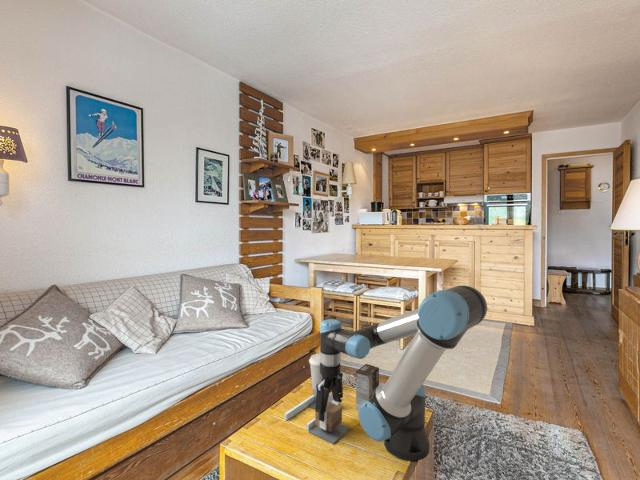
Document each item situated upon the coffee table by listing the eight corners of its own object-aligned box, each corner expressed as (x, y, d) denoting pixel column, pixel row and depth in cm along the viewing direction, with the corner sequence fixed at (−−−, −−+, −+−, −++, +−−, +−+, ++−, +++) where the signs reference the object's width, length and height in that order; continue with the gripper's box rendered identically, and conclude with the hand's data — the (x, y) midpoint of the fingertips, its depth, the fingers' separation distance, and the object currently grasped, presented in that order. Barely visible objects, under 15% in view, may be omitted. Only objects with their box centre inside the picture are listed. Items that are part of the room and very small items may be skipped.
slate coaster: (350, 429, 128) (350, 427, 127) (333, 444, 119) (333, 442, 119) (326, 418, 134) (326, 417, 134) (308, 432, 125) (308, 431, 125)
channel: (337, 408, 141) (337, 397, 141) (308, 431, 126) (308, 418, 126) (314, 399, 148) (314, 388, 148) (284, 420, 133) (284, 407, 133)
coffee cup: (329, 394, 153) (330, 361, 152) (308, 393, 153) (308, 361, 152) (329, 384, 163) (329, 353, 162) (309, 383, 163) (309, 352, 162)
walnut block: (341, 422, 127) (341, 407, 127) (331, 431, 122) (331, 415, 121) (326, 415, 132) (326, 400, 131) (315, 424, 126) (315, 408, 125)
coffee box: (365, 399, 149) (366, 363, 148) (379, 404, 145) (379, 367, 144) (355, 409, 141) (355, 370, 140) (369, 414, 137) (369, 374, 137)
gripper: (336, 351, 135) (336, 408, 137) (304, 369, 119) (304, 432, 121) (353, 356, 131) (352, 414, 132) (322, 375, 115) (321, 441, 116)
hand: (329, 423), depth 126 cm, fingers closed on walnut block, 7 cm apart
